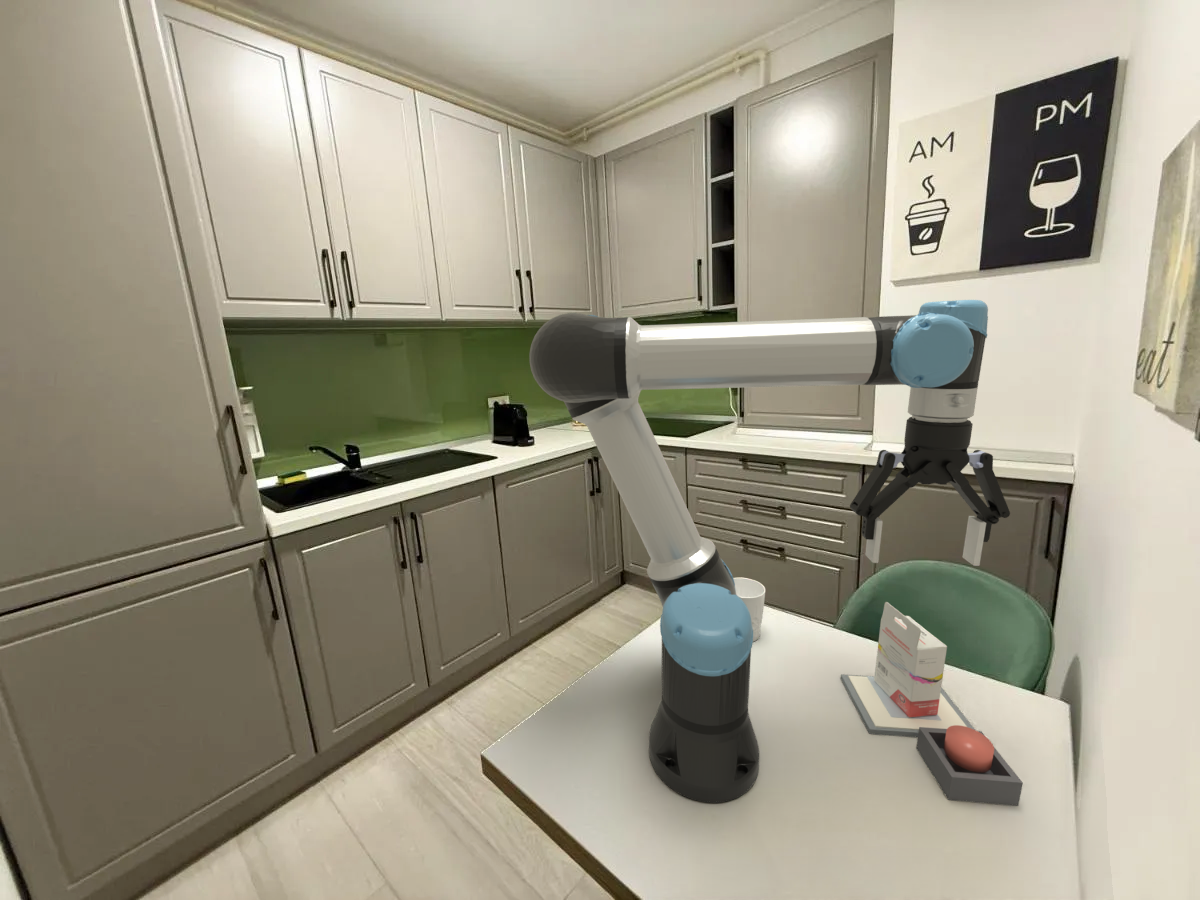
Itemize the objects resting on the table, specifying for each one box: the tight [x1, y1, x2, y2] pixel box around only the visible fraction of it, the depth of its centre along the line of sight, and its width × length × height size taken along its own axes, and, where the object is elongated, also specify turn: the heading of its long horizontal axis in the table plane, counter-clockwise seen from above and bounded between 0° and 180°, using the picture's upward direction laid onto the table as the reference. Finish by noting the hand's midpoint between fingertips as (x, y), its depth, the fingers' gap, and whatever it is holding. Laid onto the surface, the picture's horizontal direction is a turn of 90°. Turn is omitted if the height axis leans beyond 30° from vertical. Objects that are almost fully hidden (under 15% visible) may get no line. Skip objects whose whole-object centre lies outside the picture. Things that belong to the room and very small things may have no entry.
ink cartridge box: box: [874, 601, 948, 717], centre depth 75 cm, size 9×5×15 cm, turn 5°
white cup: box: [733, 577, 766, 643], centre depth 95 cm, size 8×8×10 cm
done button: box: [944, 725, 995, 773], centre depth 64 cm, size 5×5×2 cm
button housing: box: [915, 727, 1024, 807], centre depth 64 cm, size 8×8×4 cm
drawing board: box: [840, 673, 976, 738], centre depth 76 cm, size 15×12×1 cm
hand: (920, 560), depth 72 cm, fingers open, 13 cm apart
